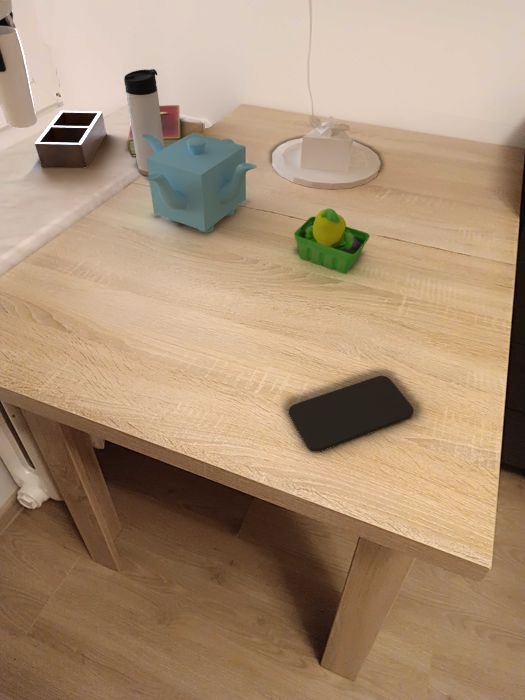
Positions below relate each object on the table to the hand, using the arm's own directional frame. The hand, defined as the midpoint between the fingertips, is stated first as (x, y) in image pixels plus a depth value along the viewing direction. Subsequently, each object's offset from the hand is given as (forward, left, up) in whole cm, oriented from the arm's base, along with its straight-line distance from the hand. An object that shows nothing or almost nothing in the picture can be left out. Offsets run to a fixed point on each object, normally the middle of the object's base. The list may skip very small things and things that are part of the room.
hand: (4, 63), depth 86 cm
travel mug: (+20, +12, -25) cm, 34 cm away
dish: (+59, +17, -25) cm, 66 cm away
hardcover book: (+18, +30, -25) cm, 43 cm away
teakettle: (+32, -8, -25) cm, 41 cm away
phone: (+56, -56, -24) cm, 83 cm away
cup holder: (0, +22, -24) cm, 33 cm away
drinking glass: (0, 0, -10) cm, 10 cm away
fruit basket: (+56, -22, -25) cm, 65 cm away
